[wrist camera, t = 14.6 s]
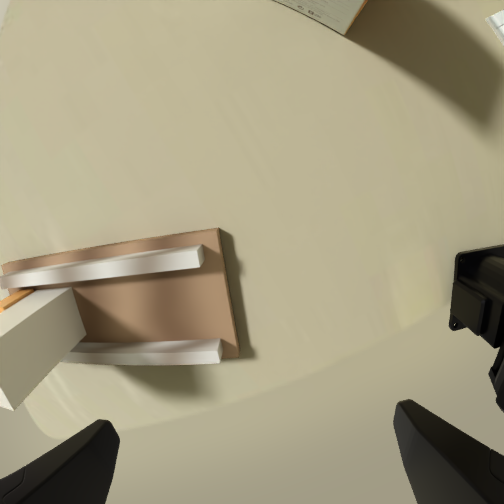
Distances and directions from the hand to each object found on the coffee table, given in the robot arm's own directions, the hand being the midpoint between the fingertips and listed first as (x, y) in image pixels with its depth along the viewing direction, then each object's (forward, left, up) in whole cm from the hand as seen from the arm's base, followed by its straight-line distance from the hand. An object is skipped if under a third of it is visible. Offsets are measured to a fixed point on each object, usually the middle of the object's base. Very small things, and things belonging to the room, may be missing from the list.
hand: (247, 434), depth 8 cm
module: (+16, +1, -12) cm, 20 cm away
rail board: (+12, +1, -13) cm, 18 cm away
